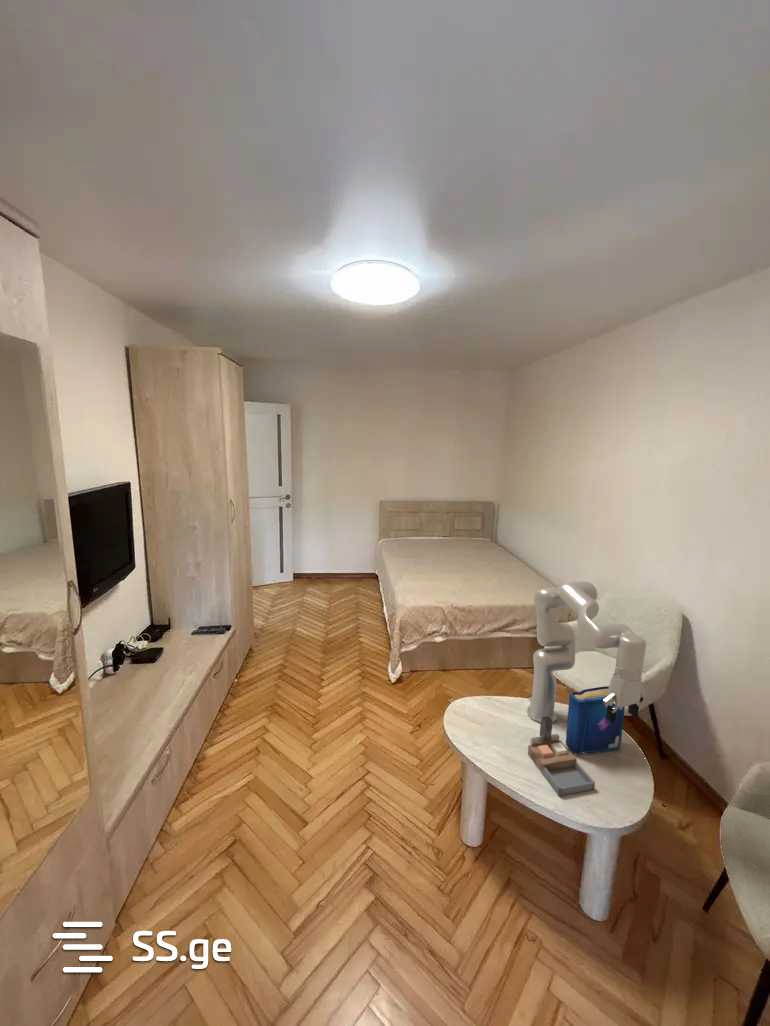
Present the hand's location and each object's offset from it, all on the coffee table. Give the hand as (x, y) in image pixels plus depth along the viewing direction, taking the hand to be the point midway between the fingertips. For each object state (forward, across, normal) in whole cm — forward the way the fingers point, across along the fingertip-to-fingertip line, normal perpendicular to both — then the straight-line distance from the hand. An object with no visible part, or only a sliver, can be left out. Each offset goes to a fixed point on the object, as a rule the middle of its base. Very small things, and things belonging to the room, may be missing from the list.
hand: (621, 718), depth 141 cm
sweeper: (+26, +8, -24) cm, 37 cm away
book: (+31, -11, -20) cm, 38 cm away
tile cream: (+26, +6, -19) cm, 33 cm away
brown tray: (+31, +9, -19) cm, 37 cm away
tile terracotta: (+26, +12, -20) cm, 35 cm away
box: (+30, +10, -9) cm, 33 cm away
